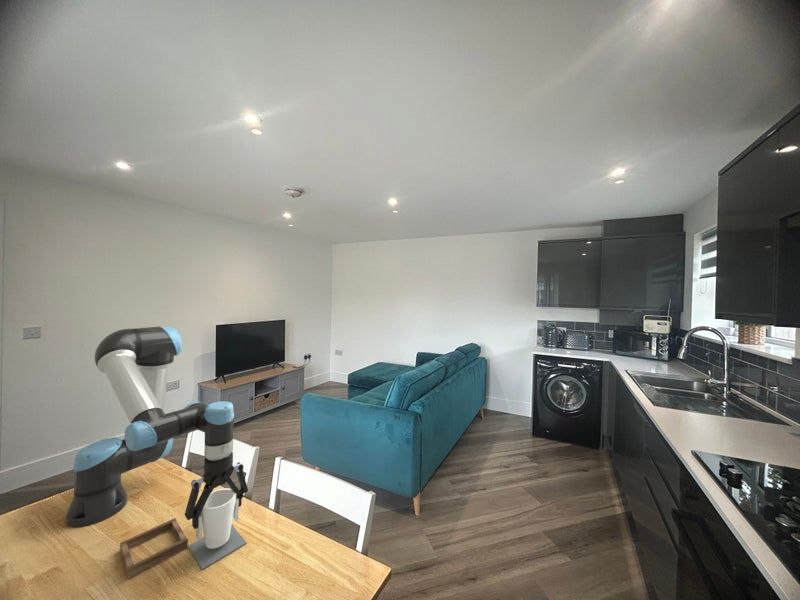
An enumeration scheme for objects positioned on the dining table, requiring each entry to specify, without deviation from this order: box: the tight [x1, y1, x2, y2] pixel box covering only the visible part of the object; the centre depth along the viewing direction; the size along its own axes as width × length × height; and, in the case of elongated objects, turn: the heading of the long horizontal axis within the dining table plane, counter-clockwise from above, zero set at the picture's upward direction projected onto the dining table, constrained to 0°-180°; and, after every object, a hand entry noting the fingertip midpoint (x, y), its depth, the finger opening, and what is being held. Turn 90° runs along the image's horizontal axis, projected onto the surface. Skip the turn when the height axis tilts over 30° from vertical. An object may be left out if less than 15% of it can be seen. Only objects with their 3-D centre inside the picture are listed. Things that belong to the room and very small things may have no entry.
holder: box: [119, 517, 189, 580], centre depth 90 cm, size 13×13×2 cm
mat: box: [188, 524, 247, 571], centre depth 92 cm, size 12×12×1 cm
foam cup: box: [200, 487, 236, 549], centre depth 92 cm, size 10×9×13 cm
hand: (217, 526), depth 92 cm, fingers closed on foam cup, 9 cm apart
